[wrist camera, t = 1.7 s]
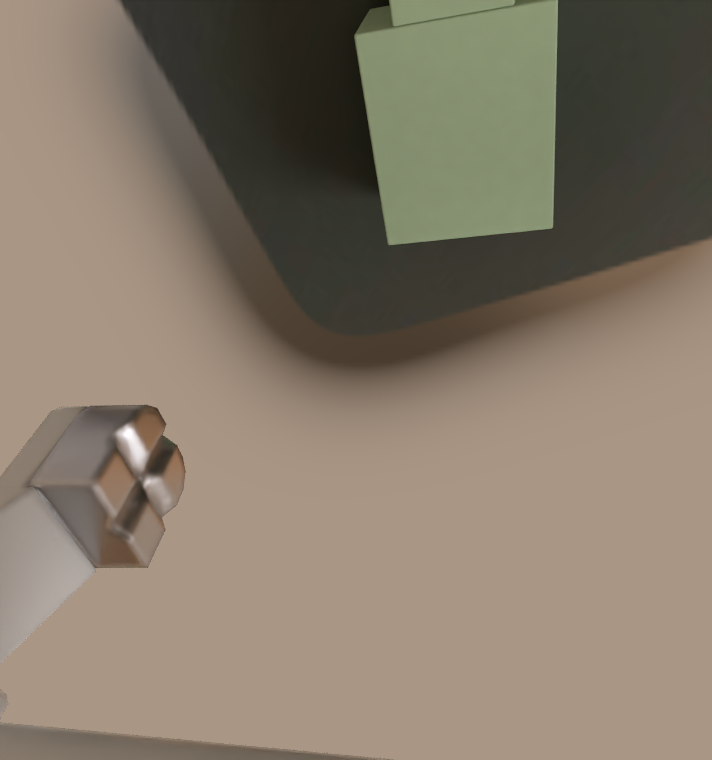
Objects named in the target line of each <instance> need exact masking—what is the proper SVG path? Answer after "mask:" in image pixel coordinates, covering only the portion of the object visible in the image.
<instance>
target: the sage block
mask: <svg viewBox="0 0 712 760" xmlns="http://www.w3.org/2000/svg"><path fill="white" fill-rule="evenodd" d="M389 4H390V5H389V6H384V7H379V8H373V9H370V10H369V12H368V13H367V15H366V17H365V18H364V20H363V22H362V23H361V25H360V27H359V28H358V30H357V32H356V33H355V36H354V38H355V44H356V50H357V57H358V63H359V69H360V75H361V81H362V88H363V94H364V100H365V106H366V112H367V118H368V125H369V131H370V137H371V143H372V149H373V155H374V162H375V168H376V174H377V180H378V186H379V192H380V199H381V205H382V211H383V217H384V223H385V230H386V236H387V242H388V245H395V244H404V243H414V242H424V241H434V240H443V239H453V238H463V237H473V236H483V235H492V234H502V233H512V232H522V231H532V230H541V229H551V228H552V227H553V202H554V157H555V112H556V67H557V22H558V0H389Z"/></svg>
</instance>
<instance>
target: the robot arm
mask: <svg viewBox="0 0 712 760" xmlns="http://www.w3.org/2000/svg"><path fill="white" fill-rule="evenodd" d="M165 426H166V423H165V421H164V419H163V418H162V416H161V414H160V412H159V411H158V409H157V408H155V407H152V406H149V405H113V406H89V407H61V408H58V409H56V410H54V411H52V412H50V413H49V415H48V416H47V417H46V419H45V420H44V421H43V422H42V424H41V425H40V426H39V428H38V429H37V430H36V431H35V433H34V434H33V435H32V437H31V438H30V439H29V440H28V442H27V443H26V444H25V446H24V447H23V448H22V449H21V451H20V452H19V453H18V455H17V456H16V457H15V459H14V460H13V461H12V462H11V464H10V465H9V466H8V468H7V469H6V470H5V471H4V473H3V474H2V475H1V477H0V664H1V663H2V661H4V660H5V659H6V658H7V657H8V656H9V655H10V654H11V653H12V652H13V651H14V650H15V649H16V648H17V647H18V646H19V645H20V644H21V643H22V642H23V641H24V640H25V639H26V638H27V637H28V636H29V635H30V634H32V633H33V631H34V630H36V629H37V628H38V627H39V626H40V625H41V624H42V623H43V622H44V621H45V620H46V619H47V618H48V617H49V616H50V615H51V614H52V613H53V612H54V611H55V610H56V609H57V608H58V607H59V606H61V605H62V604H63V603H64V602H65V601H66V600H67V599H68V598H69V597H70V596H71V595H72V594H73V593H74V592H75V591H76V590H77V589H78V588H79V587H80V586H81V585H82V584H83V583H84V582H85V581H86V580H87V579H88V578H90V577H91V576H92V574H94V573H95V572H96V569H95V568H148V566H149V564H150V562H151V560H152V557H153V555H154V553H155V551H156V549H157V547H158V545H159V542H160V540H161V538H162V536H163V534H164V532H165V527H164V523H163V520H162V517H163V516H164V515H165V514H166V513H168V512H169V511H170V510H171V509H173V508H174V507H175V506H176V505H177V503H178V501H179V499H180V496H181V494H182V492H183V488H184V479H185V466H184V461H183V457H182V455H181V453H180V451H179V449H178V447H177V445H175V444H174V443H173V442H172V441H170V440H169V439H167V438H166V437H165V436H163V432H164V429H165ZM7 705H8V701H7V696H6V694H5V693H4V692H3V691H2V690H0V718H1V716H2V715H3V713H4V711H5V709H6V707H7ZM0 760H390V759H381V758H371V757H370V758H369V757H359V756H348V755H339V754H328V753H317V752H307V751H296V750H286V749H276V748H265V747H255V746H244V745H234V744H223V743H212V742H202V741H191V740H181V739H170V738H159V737H149V736H138V735H128V734H116V733H107V732H96V731H86V730H74V729H65V728H53V727H43V726H33V725H22V724H12V723H1V722H0ZM391 760H392V759H391Z"/></svg>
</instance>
